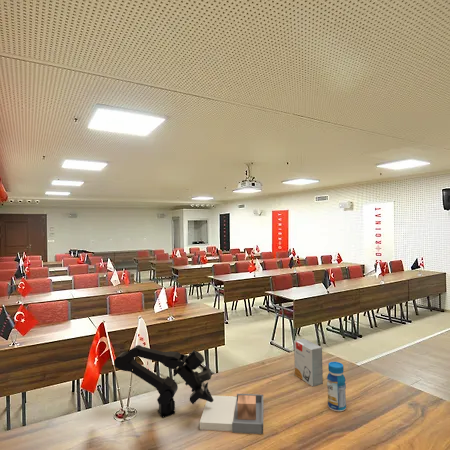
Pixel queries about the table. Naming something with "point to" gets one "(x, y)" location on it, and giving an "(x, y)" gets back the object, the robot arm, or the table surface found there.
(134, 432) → the table surface
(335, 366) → the beverage bottle
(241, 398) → the block
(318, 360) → the hard drive box
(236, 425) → the box
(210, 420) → the cream slab
